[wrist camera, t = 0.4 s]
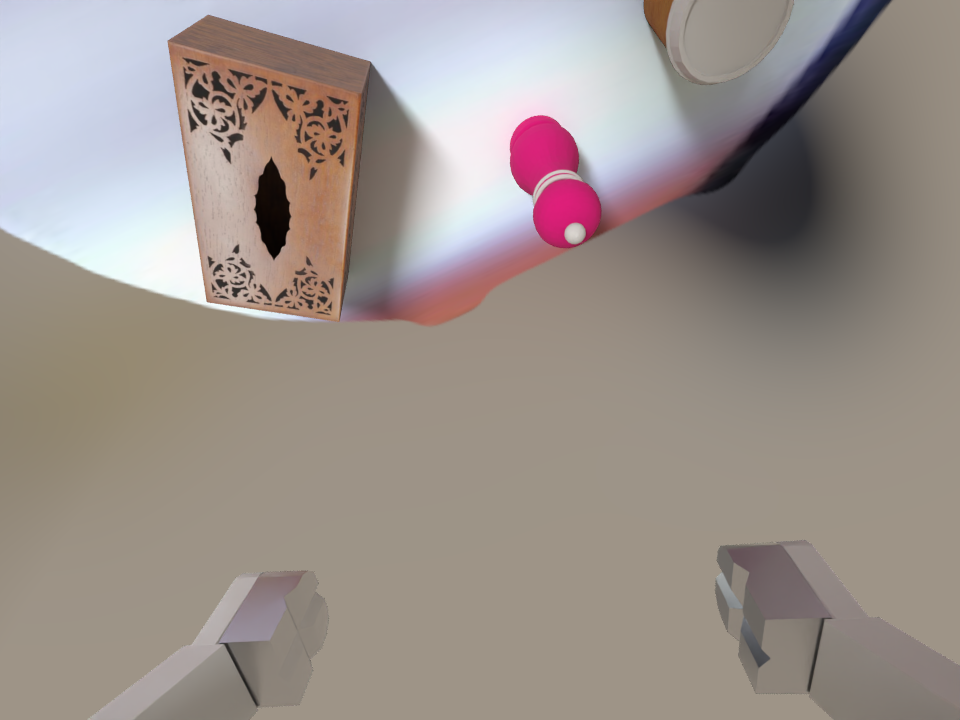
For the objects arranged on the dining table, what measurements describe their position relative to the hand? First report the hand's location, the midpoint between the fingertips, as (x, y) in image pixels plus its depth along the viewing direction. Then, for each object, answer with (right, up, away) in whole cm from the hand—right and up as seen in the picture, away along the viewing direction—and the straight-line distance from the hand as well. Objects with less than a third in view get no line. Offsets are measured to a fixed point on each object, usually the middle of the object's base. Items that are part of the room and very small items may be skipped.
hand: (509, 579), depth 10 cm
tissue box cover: (-22, +26, +44) cm, 56 cm away
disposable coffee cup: (+18, +39, +35) cm, 55 cm away
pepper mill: (+6, +29, +44) cm, 53 cm away
